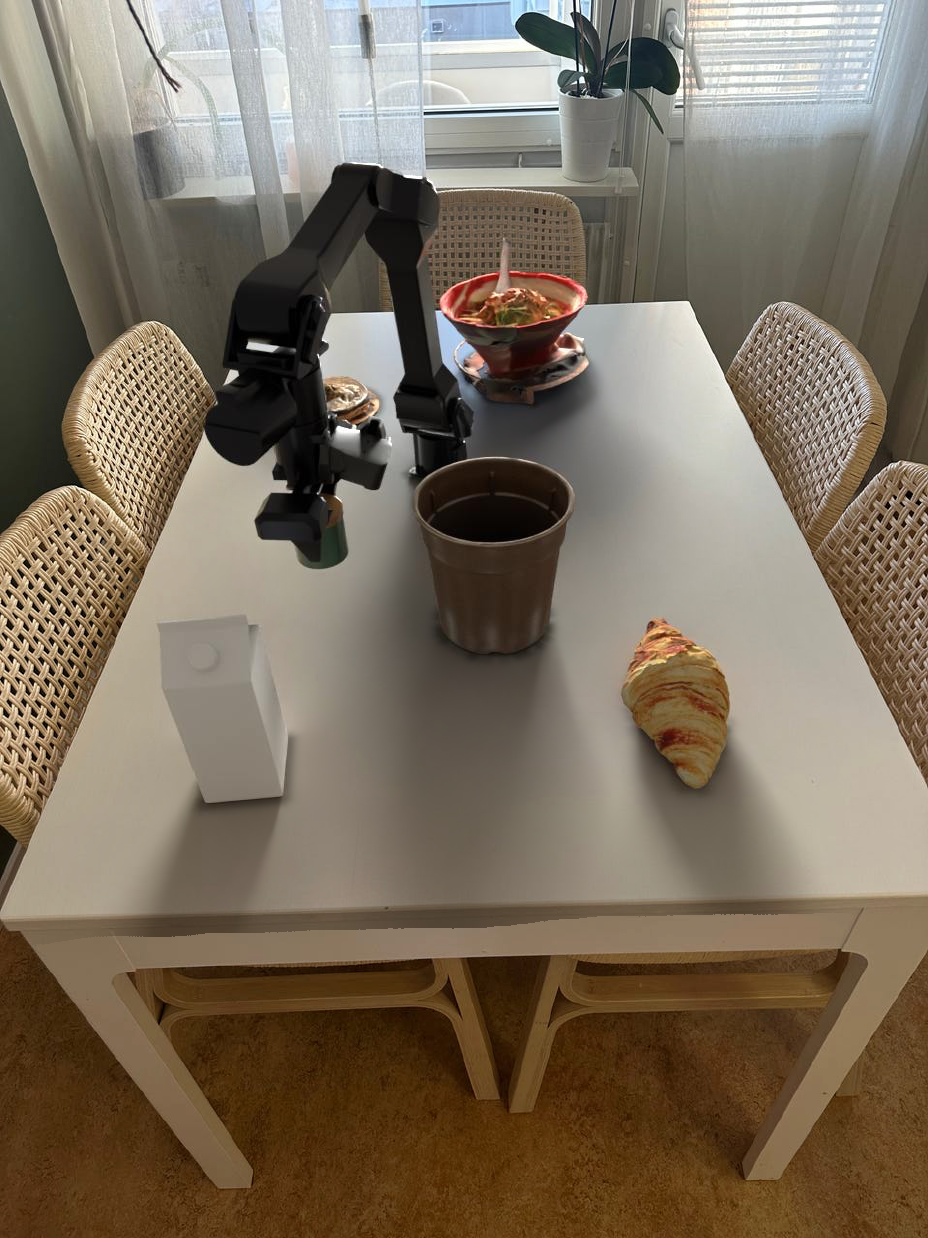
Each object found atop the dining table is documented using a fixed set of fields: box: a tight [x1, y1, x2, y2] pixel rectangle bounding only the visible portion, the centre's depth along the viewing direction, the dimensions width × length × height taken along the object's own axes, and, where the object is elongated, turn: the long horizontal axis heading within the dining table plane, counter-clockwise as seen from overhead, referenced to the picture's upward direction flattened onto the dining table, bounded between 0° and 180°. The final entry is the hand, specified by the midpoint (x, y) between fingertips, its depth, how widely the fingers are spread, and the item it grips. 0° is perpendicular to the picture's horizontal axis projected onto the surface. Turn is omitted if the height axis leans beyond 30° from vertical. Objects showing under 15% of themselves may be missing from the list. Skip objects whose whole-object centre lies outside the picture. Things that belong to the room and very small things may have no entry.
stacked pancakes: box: [323, 375, 380, 426], centre depth 135 cm, size 15×15×4 cm
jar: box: [293, 493, 350, 570], centre depth 92 cm, size 6×6×6 cm
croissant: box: [620, 617, 731, 790], centre depth 84 cm, size 21×10×8 cm, turn 2°
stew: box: [438, 238, 590, 405], centre depth 140 cm, size 28×24×16 cm
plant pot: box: [411, 456, 576, 656], centre depth 92 cm, size 16×16×16 cm
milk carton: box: [156, 614, 289, 804], centre depth 76 cm, size 7×7×19 cm
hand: (321, 544), depth 93 cm, fingers closed on jar, 5 cm apart
